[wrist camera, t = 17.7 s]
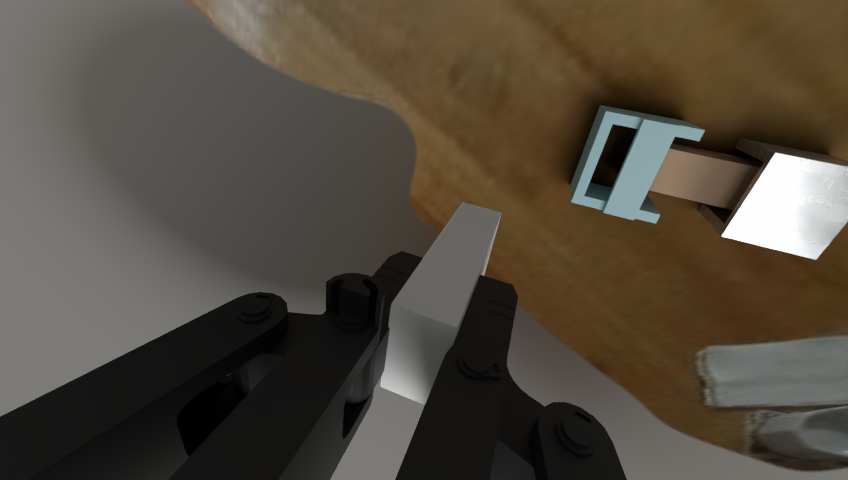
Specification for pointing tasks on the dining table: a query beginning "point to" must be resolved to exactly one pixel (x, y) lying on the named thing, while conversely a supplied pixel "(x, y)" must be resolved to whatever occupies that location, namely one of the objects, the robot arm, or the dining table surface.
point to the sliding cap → (628, 162)
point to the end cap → (787, 201)
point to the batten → (704, 176)
